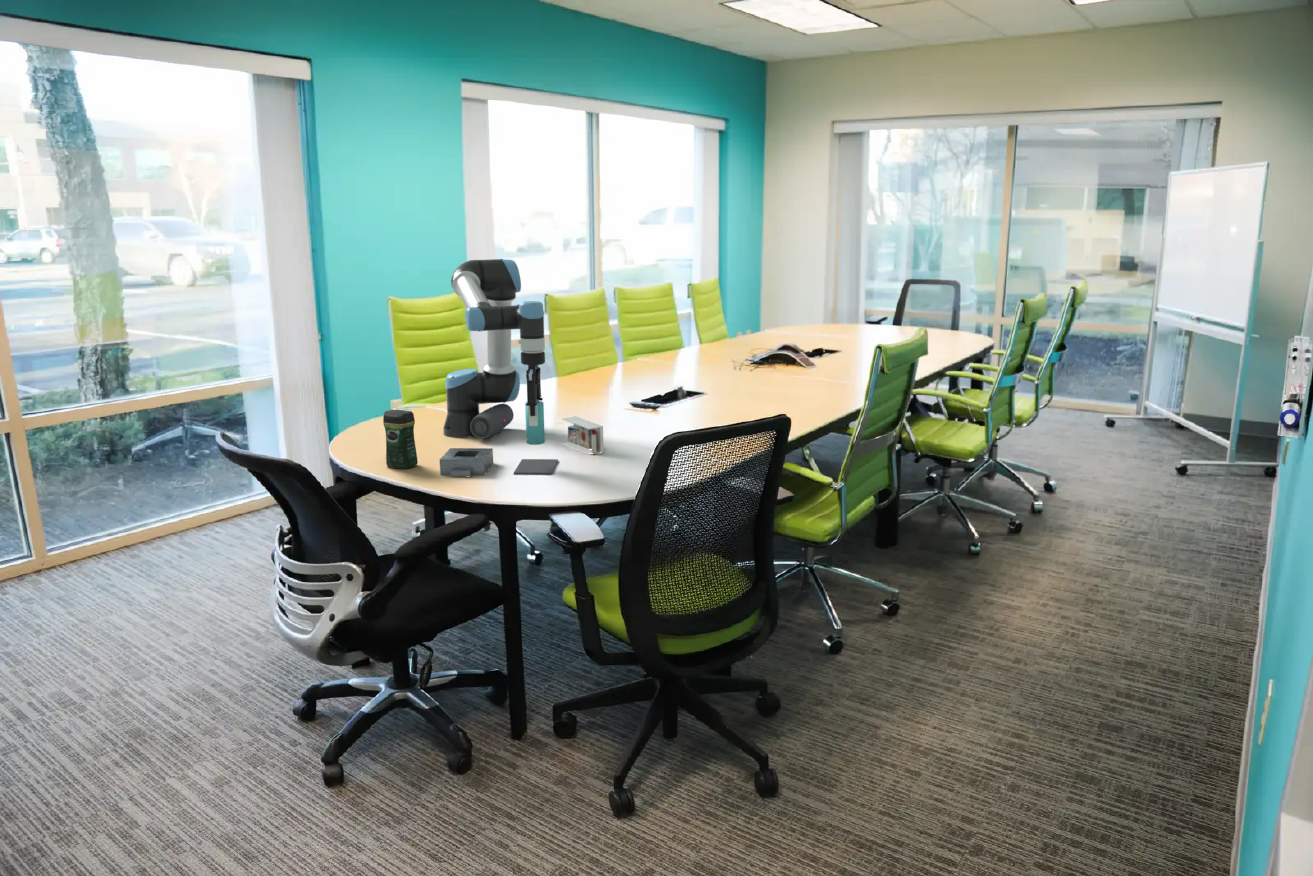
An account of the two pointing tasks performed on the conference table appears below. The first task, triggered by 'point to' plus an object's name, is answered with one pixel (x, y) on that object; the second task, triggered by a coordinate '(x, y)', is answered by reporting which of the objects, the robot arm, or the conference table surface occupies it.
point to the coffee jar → (400, 439)
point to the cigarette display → (585, 435)
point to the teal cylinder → (535, 433)
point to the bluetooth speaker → (491, 421)
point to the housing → (466, 461)
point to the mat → (536, 466)
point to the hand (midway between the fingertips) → (535, 423)
